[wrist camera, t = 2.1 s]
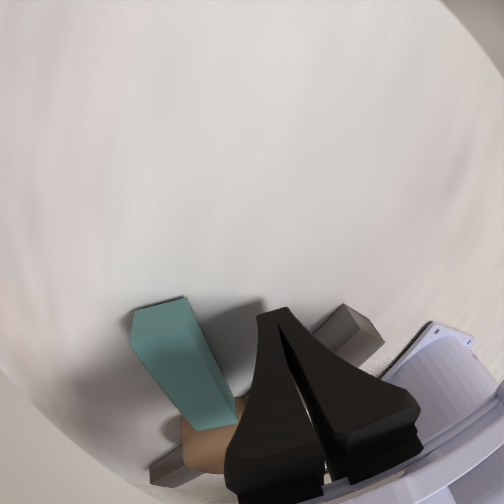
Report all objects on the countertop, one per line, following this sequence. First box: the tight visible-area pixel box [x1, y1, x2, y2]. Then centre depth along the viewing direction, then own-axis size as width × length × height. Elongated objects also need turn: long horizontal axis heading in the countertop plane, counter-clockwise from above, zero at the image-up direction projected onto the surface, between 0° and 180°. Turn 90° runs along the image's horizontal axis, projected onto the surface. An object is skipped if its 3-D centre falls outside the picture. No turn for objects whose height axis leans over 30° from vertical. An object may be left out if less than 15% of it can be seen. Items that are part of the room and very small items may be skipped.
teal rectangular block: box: [129, 297, 238, 431], centre depth 14 cm, size 8×2×2 cm, turn 12°
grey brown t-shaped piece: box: [150, 304, 385, 488], centre depth 19 cm, size 16×24×3 cm, turn 142°
